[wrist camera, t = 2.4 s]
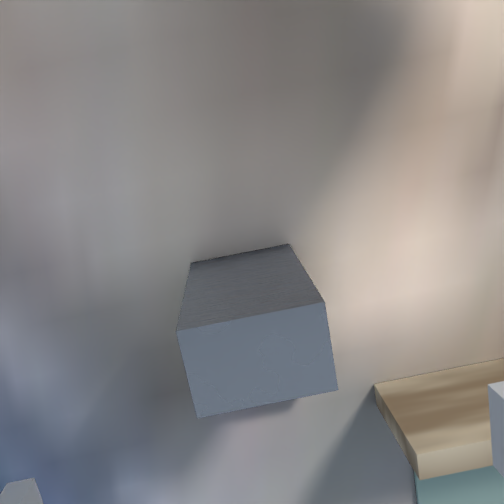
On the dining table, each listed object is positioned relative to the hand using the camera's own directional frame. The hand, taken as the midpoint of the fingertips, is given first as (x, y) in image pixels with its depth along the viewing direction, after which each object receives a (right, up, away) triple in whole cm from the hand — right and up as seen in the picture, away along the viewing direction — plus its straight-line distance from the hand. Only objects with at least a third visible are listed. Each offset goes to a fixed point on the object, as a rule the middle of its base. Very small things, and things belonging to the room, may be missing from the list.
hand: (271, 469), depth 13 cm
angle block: (0, +2, +16) cm, 16 cm away
